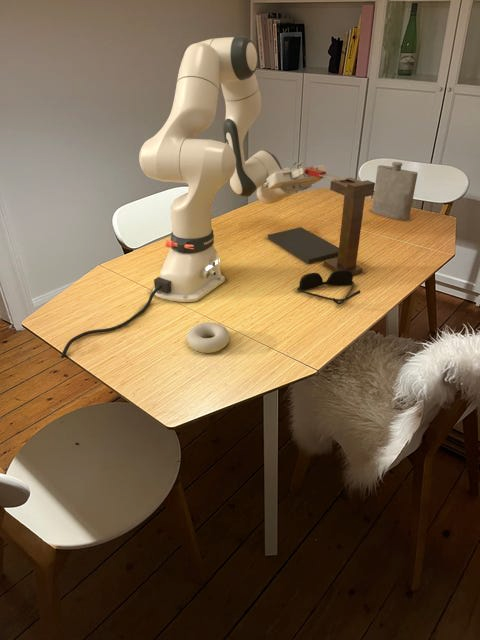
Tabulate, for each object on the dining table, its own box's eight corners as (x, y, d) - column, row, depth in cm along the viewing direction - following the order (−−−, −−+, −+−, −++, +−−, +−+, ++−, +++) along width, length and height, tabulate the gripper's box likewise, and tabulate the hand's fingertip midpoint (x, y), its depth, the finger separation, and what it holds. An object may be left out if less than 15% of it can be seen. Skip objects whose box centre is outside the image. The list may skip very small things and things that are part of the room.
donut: (230, 355, 106) (229, 330, 114) (229, 343, 104) (229, 318, 112) (185, 356, 106) (188, 331, 114) (184, 344, 104) (187, 319, 112)
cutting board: (267, 238, 164) (267, 234, 163) (300, 231, 169) (301, 227, 168) (308, 264, 146) (308, 259, 145) (343, 254, 151) (344, 250, 150)
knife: (301, 173, 146) (301, 168, 145) (308, 172, 147) (308, 166, 146) (339, 183, 131) (340, 177, 131) (347, 182, 132) (347, 176, 132)
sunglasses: (313, 315, 120) (315, 298, 117) (295, 289, 132) (296, 273, 129) (374, 306, 123) (376, 290, 121) (350, 282, 135) (352, 266, 132)
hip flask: (410, 219, 178) (420, 165, 167) (405, 221, 175) (414, 167, 165) (374, 209, 188) (381, 158, 177) (368, 211, 185) (375, 160, 175)
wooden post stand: (323, 265, 145) (331, 177, 130) (341, 260, 148) (350, 174, 133) (344, 278, 137) (354, 186, 123) (362, 272, 140) (375, 182, 126)
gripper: (257, 177, 152) (278, 163, 139) (309, 168, 160) (333, 155, 147) (262, 196, 152) (283, 184, 140) (313, 187, 161) (337, 174, 148)
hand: (309, 169), depth 144 cm, fingers closed on knife, 2 cm apart
